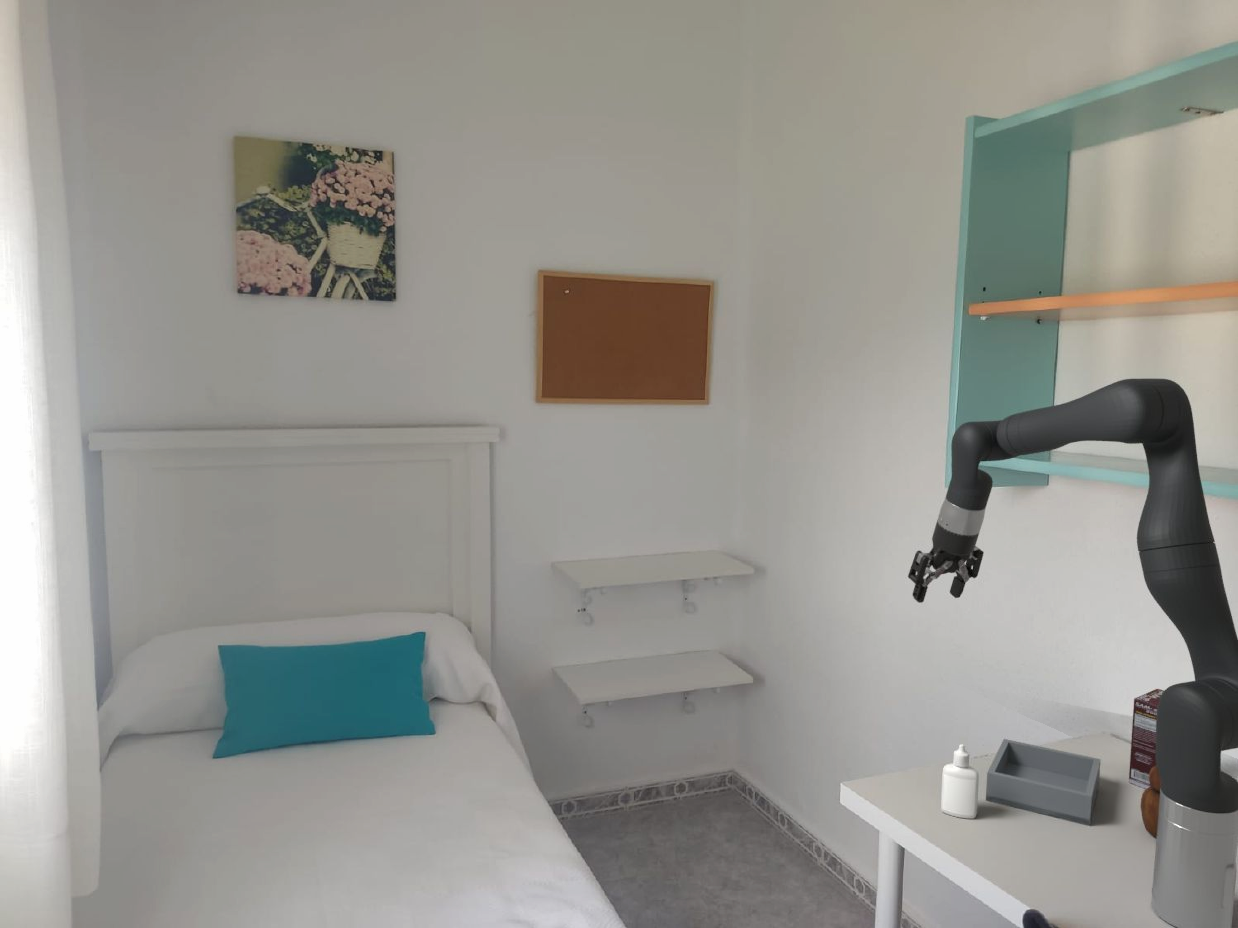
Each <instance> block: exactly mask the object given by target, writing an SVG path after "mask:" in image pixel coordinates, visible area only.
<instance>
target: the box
mask: <svg viewBox="0 0 1238 928" xmlns="http://www.w3.org/2000/svg"><path fill="white" fill-rule="evenodd" d="M1101 761H1102V760H1101V758H1097V757H1092V756H1087V755H1082V754H1078V753H1073V752H1068V751H1063V750H1058V749H1054V748H1050V747H1044V746H1039V745H1035V744H1030V743H1025V742H1021V741H1016V740H1011V739H1006V738H1003V740H1002V742H1001V744H1000V746H999V748H998V749H997V752H996V754H995V757H994V758H993V760H992V763H991V764H990V765H989V768H988V769H987V772H986V790H985V792H986V793H985V801H987V802H990V803H991V802H993V803H996V804H999V805H1005V806H1007V807H1012V808H1016V809H1020V810H1024V811H1028V812H1032V813H1037V814H1041V815H1045V816H1047V817H1048V816H1049V817H1052V818H1056V819H1061V820H1065V821H1069V822H1072V823H1076V824H1081V825H1085V826H1089V827H1090V826H1091V821H1092V817H1093V813H1094V808H1095V806H1096V805H1095V803H1096V800H1097V795H1098V790H1099V786H1100V775H1101V773H1100V772H1101Z"/></svg>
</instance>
